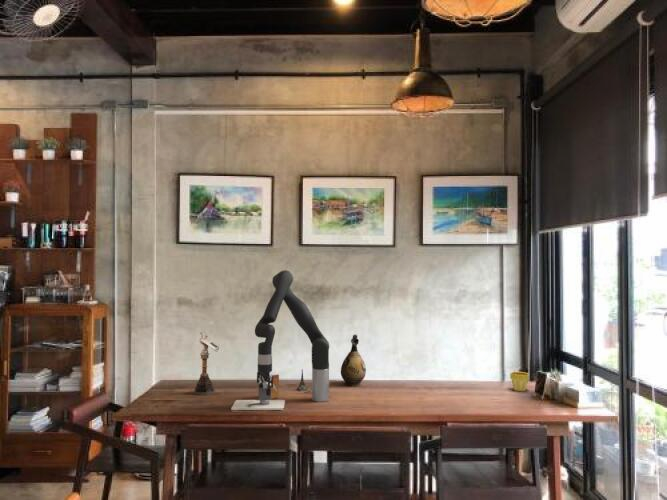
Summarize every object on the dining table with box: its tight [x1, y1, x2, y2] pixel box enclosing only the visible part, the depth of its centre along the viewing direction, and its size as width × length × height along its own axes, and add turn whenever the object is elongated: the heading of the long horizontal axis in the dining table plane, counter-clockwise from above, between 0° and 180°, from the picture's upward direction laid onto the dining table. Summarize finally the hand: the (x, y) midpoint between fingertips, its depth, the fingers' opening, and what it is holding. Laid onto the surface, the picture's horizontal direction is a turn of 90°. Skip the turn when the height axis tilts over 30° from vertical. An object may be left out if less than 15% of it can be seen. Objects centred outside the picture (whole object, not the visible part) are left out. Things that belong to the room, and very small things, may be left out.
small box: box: [262, 372, 280, 400], centre depth 309 cm, size 8×6×13 cm
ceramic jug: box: [340, 334, 367, 387], centre depth 342 cm, size 17×15×30 cm
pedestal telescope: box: [193, 332, 220, 396], centre depth 320 cm, size 17×13×35 cm
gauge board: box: [230, 399, 286, 411], centre depth 290 cm, size 26×16×2 cm, turn 91°
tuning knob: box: [248, 387, 272, 406], centre depth 288 cm, size 12×5×8 cm, turn 119°
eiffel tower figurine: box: [295, 369, 312, 394], centre depth 326 cm, size 15×10×13 cm
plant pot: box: [509, 371, 530, 392], centre depth 328 cm, size 10×10×10 cm
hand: (264, 393), depth 290 cm, fingers open, 8 cm apart
